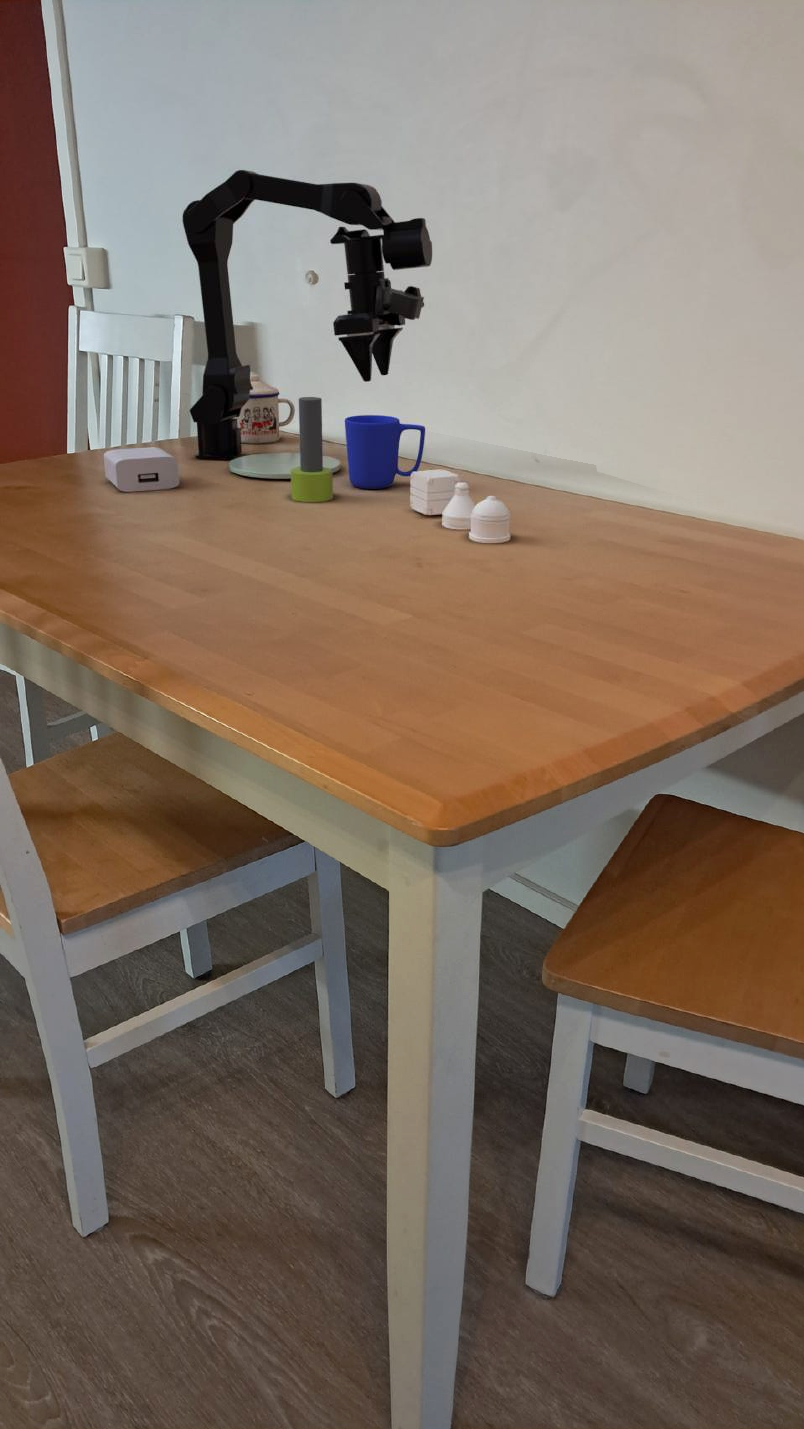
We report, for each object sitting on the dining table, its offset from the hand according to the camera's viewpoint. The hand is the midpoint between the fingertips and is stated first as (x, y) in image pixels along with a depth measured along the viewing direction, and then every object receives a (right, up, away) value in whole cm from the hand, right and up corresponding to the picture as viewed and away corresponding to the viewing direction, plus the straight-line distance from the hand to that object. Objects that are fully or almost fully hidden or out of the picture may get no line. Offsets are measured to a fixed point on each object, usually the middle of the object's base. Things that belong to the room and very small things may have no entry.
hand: (376, 378), depth 171 cm
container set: (+12, -29, -29) cm, 43 cm away
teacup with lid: (-22, -3, +29) cm, 36 cm away
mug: (+1, -19, -8) cm, 21 cm away
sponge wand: (-9, -22, -16) cm, 29 cm away
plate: (-15, -14, +3) cm, 21 cm away
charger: (-37, -18, -6) cm, 41 cm away
